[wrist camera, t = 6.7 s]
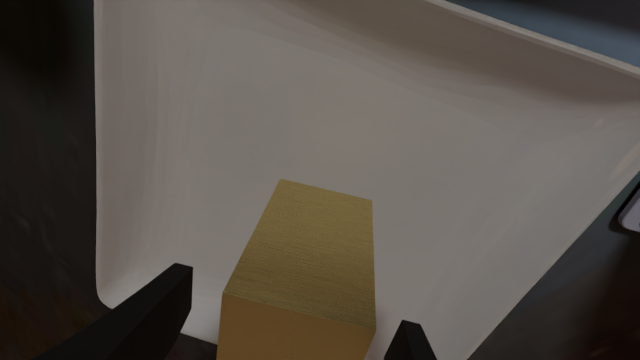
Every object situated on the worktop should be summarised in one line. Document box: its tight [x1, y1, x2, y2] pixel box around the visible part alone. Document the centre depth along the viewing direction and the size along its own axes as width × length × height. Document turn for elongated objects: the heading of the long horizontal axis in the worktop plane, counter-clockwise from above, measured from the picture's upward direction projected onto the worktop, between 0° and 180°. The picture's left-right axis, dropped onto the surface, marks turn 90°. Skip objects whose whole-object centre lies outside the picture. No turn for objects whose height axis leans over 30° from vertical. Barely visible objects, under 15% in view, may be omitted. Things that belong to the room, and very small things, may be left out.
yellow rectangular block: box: [216, 178, 376, 360], centre depth 12 cm, size 4×4×6 cm
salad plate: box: [94, 0, 640, 360], centre depth 17 cm, size 21×21×3 cm
